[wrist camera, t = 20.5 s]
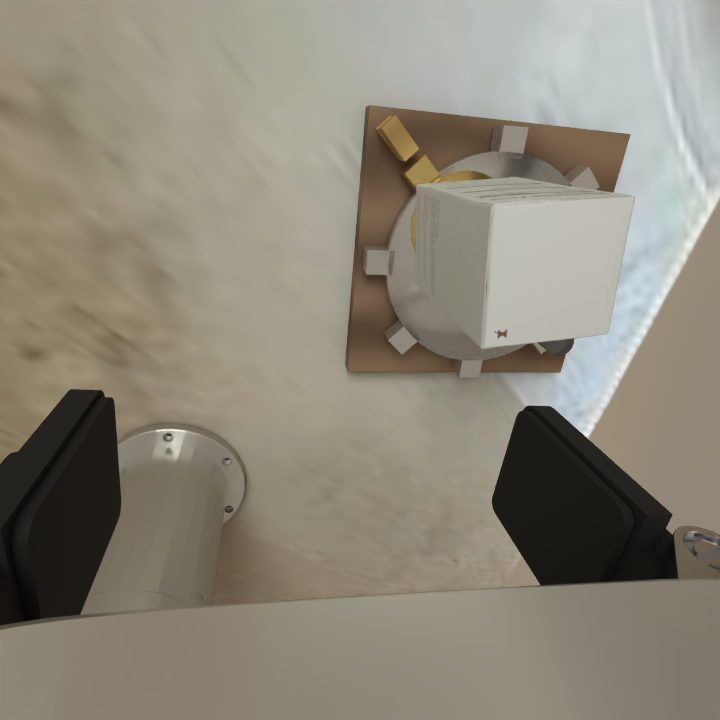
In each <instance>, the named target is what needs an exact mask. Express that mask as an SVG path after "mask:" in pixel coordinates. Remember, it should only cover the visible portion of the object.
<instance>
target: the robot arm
mask: <svg viewBox="0 0 720 720" xmlns="http://www.w3.org/2000/svg"><path fill="white" fill-rule="evenodd" d="M244 491H245V472H244V468H243V465H242V463H241V461H240V459H239V457H238V455H237V454H236V453H235V451H234V450H233V449H232V448H231V447H230V446H229V445H228V444H227V443H226V442H224V441H223V440H222V439H221V438H219V437H217V436H216V435H214V434H212V433H210V432H208V431H205V430H202V429H200V428H197V427H193V426H187V425H181V424H162V425H154V426H149V427H146V428H143V429H139V430H137V431H135V432H133V433H131V434H129V435H127V436H125V437H124V438H122V439H121V440H120V441H119V442H117V433H116V419H115V405H114V400H113V398H110V397H105V396H104V393H103V391H102V390H77V389H71V390H69V391H68V392H67V393H66V395H65V396H64V397H63V398H62V399H61V401H60V402H59V403H58V404H57V405H56V407H55V408H54V409H53V410H52V412H51V413H50V414H49V415H48V416H47V418H46V419H45V420H44V421H43V422H42V424H41V425H40V426H39V427H38V428H37V430H36V431H35V432H34V433H33V434H32V436H31V437H30V438H29V439H28V440H27V442H26V443H25V444H24V445H23V446H22V448H21V449H20V450H19V451H18V452H14V453H11V454H10V455H8V456H7V457H6V458H5V459H4V460H3V462H2V463H1V464H0V720H720V535H719V534H717V533H715V532H713V531H709V530H707V529H703V528H700V527H693V526H682V527H679V528H678V529H676V530H675V531H674V533H673V535H672V534H671V533H670V532H669V531H667V529H666V526H667V525H668V523H669V521H670V518H671V517H672V514H671V513H670V512H669V511H668V510H667V509H666V508H665V507H663V506H662V505H661V504H660V503H659V502H658V501H657V500H656V499H655V498H653V497H652V496H651V495H650V494H649V493H648V492H647V491H646V490H644V489H643V488H642V487H641V486H640V485H639V484H638V483H637V482H636V481H634V480H633V479H632V478H631V477H630V476H629V475H628V474H627V473H625V472H624V471H623V470H622V469H621V468H620V467H619V466H618V465H616V464H615V463H614V462H613V461H612V460H611V459H610V458H608V456H606V455H605V454H604V453H603V452H602V451H601V450H600V449H599V448H597V447H596V446H595V445H594V444H593V443H592V442H591V441H590V440H588V439H587V438H586V437H585V436H584V435H583V434H582V433H581V432H580V431H578V430H577V429H576V428H575V427H574V426H573V425H572V424H571V423H569V422H568V421H567V420H566V419H565V418H564V417H563V416H562V415H560V414H559V413H558V412H557V411H556V410H555V409H554V408H552V407H550V406H527V407H525V409H524V410H523V411H521V412H519V413H518V415H517V417H516V420H515V423H514V427H513V430H512V433H511V437H510V440H509V443H508V447H507V450H506V454H505V457H504V460H503V464H502V467H501V470H500V474H499V477H498V480H497V484H496V487H495V490H494V494H493V497H492V506H493V510H494V512H495V514H496V515H497V517H498V518H499V520H500V522H501V523H502V525H503V526H504V528H505V530H506V531H507V533H508V534H509V536H510V537H511V539H512V541H513V542H514V544H515V545H516V547H517V549H518V550H519V552H520V553H521V555H522V556H523V558H524V560H525V561H526V563H527V564H528V566H529V567H530V569H531V571H532V572H533V574H534V575H535V577H536V579H537V580H538V582H539V583H540V585H539V586H520V587H502V588H484V589H466V590H448V591H430V592H413V593H396V594H379V595H362V596H345V597H329V598H312V599H296V600H280V601H265V602H249V603H233V604H217V605H212V604H213V596H214V589H215V581H216V573H217V566H218V558H219V550H220V543H221V535H222V527H223V524H224V523H226V522H227V521H228V520H229V519H230V518H231V517H232V516H233V515H234V514H235V513H236V511H237V509H238V508H239V506H240V505H241V502H242V499H243V496H244Z"/></svg>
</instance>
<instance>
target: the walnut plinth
mask: <svg viewBox="0 0 720 720" xmlns="http://www.w3.org/2000/svg"><path fill="white" fill-rule="evenodd" d="M496 125H509V126H520V127H529V128H528V133H527V138H526V143H525V148H524V153H523V154H527V155H530V156H533V157H536V158H539V159H540V160H542V161H544V162H546V163H548V164H550V165H551V166H553V167H554V168H555V169H557V170H558V171H559V172H560V173H561V174H562V175H563V176H565V175H566V174H567V173H568V172H569V171H571V170H572V169H573V168H574V167H575V166H586V167H589V168H590V170H591V171H592V173H593V175H594V177H595V179H596V181H597V182H598V184H599V186H600V187H599V188H597V189H596V190H599V191H605V192H612V193H613V192H614V189H615V185H616V182H617V178H618V175H619V172H620V168H621V165H622V161H623V158H624V155H625V151H626V148H627V144H628V141H629V138H630V134H623V133H614V132H605V131H596V130H587V129H578V128H569V127H560V126H551V125H542V124H533V123H524V122H515V121H506V120H497V119H488V118H479V117H470V116H461V115H452V114H443V113H434V112H425V111H416V110H407V109H398V108H389V107H380V106H371V105H370V106H367V107H366V114H365V126H364V138H363V151H362V163H361V176H360V188H359V200H358V213H357V225H356V238H355V250H354V262H353V275H352V287H351V300H350V312H349V324H348V337H347V349H346V362H345V365H346V368H347V371H348V372H454V371H453V365H454V359H452V358H448V357H445V356H442V355H439V354H437V353H435V352H433V351H431V350H429V349H427V348H426V347H424V346H423V345H422V344H420V343H419V342H416V343H415V344H414V345H413V346H412V347H411V348H409V349H408V350H407V351H406V352H405V353H403V354H401V353H400V352H399V351H398V350H397V349H396V348H395V347H394V346H393V345H392V344H391V343H390V342H389V341H388V339H387V338H386V336H385V334H384V332H385V331H386V330H388V329H389V328H390V327H391V326H392V325H393V324H394V323H396V322H397V321H398V320H399V319H398V317H397V315H396V314H395V312H394V310H393V308H392V306H391V303H390V301H389V298H388V296H387V291H386V287H385V282H384V275H369V274H365V272H364V271H363V269H362V267H363V253H364V245H370V246H386V242H387V239H388V235H389V232H390V229H391V227H392V224H393V222H394V219H395V217H396V215H397V214H398V212H399V210H400V208H401V207H402V205H403V203H404V202H405V201H406V199H407V198H408V197H409V195H410V194H411V193H412V191H413V189H412V188H411V187H410V185H409V184H408V183H407V181H406V180H405V179H404V177H403V176H402V175H401V173H400V171H401V170H402V169H403V168H404V167H405V166H406V165H408V164H409V163H410V162H411V161H412V160H413V159H414V158H415V157H416V156H417V155H418V154H424V155H426V156H427V158H428V159H429V160H430V162H431V163H432V165H433V166H434V167H435V169H436V170H437V169H439V168H440V167H442V166H444V165H445V164H447V163H449V162H451V161H454V160H456V159H458V158H460V157H463V156H467V155H470V154H473V153H480V152H486V151H490V147H491V141H492V136H493V130H494V126H496ZM565 355H566V354H565ZM565 355H562V356H554V355H552V354H551V353H549V352H548V351H547V350H546V351H545V352H543V353H542V354H541V353H539V352H538V351H537V350H536V349H534V348H533V347H532V346H531V345H530V343H529V344H527V345H525V346H523V347H522V348H520V349H518V350H516V351H513V352H511V353H509V354H506V355H503V356H500V357H497V358H492V359H486V360H483V361H482V366H481V371H480V372H561V369H562V365H563V362H564V358H565Z"/></svg>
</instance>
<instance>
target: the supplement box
mask: <svg viewBox="0 0 720 720" xmlns="http://www.w3.org/2000/svg"><path fill="white" fill-rule="evenodd" d="M634 200H635V197H634V196H631V195H625V194H619V193H612V192H605V191H599V190H593V189H586V188H579V187H571V186H565V185H559V184H553V183H548V182H542V181H536V180H531V179H525V178H519V177H510V178H497V179H481V180H466V181H452V182H438V183H425V184H417V185H416V284H417V285H418V286H419V287H420V288H421V289H422V290H423V291H424V292H425V293H426V294H427V295H428V296H429V297H430V298H431V299H432V300H433V301H434V302H435V303H436V304H437V305H438V306H439V307H440V308H441V309H442V310H443V311H444V312H445V313H446V314H447V315H448V316H449V317H450V318H451V319H452V320H453V321H454V322H455V323H456V324H457V325H458V326H459V327H460V328H461V329H462V330H463V331H464V332H465V333H466V334H467V335H468V336H469V337H470V338H471V339H472V340H473V341H474V342H475V343H476V344H477V345H478V346H479V347H480V348H481V349H489V348H496V347H504V346H511V345H520V344H528V343H537V342H546V341H555V340H563V339H572V338H580V337H590V336H597V335H604V334H607V333H608V331H609V327H610V321H611V316H612V310H613V305H614V300H615V295H616V290H617V285H618V280H619V275H620V270H621V265H622V260H623V255H624V249H625V244H626V239H627V234H628V230H629V225H630V220H631V214H632V210H633V205H634Z"/></svg>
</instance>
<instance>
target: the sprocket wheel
mask: <svg viewBox="0 0 720 720" xmlns="http://www.w3.org/2000/svg"><path fill="white" fill-rule="evenodd" d="M528 128H529V127H520V126H509V125H496V126H494V130H493V136H492V141H491V147H490V151H486V152H480V153H473V154H470V155H467V156H463V157H460V158H458V159H456V160H454V161H451V162H449V163H447V164H445V165H444V166H442V167H440V168H439V169H437V170H436V169H435V167H434V166H433V165H432V163H431V162H430V160H429V159H428V158H427V156H426V155H424V154H418V155H417V156H416V157H415V158H414V159H413V160H412V161H411V162H410V163H409V164H408V165H406V166H405V167H404V168H403V169H402V170H401V171H400V173H401V175H402V176H403V177H404V179H405V180H406V181H407V183H408V184H409V185H410V187H411V188H412V189H413V191H412V193H411V194H410V195H409V197H408V198H407V199H406V201H405V202H404V203H403V205H402V207H401V208H400V210H399V212H398V214H397V215H396V217H395V219H394V222H393V224H392V227H391V229H390V232H389V235H388V239H387V242H386V246H370V245H364V253H363V267H362V269H363V271H364V272H365V274H369V275H384V282H385V287H386V291H387V296H388V298H389V301H390V303H391V306H392V308H393V310H394V312H395V314H396V315H397V317H398V319H399V320H398V321H397V322H396V323H394V324H393V325H392V326H391V327H390V328H389V329H388V330H386V331H385V332H384V334H385V336H386V338H387V339H388V341H389V342H390V343H391V344H392V345H393V346H394V347H395V348H396V349H397V350H398V351H399V352H400V353H401V354H403V353H405V352H406V351H407V350H408V349H409V348H411V347H412V346H413V345H414V344H415V343H416V342H419V343H420V344H422V345H423V346H424V347H426V348H427V349H429V350H431V351H433V352H435V353H437V354H439V355H442V356H445V357H448V358H452V359H454V365H453V371H454V372H455V373H456V374H457V376H458V377H459V378H479V376H480V371H481V366H482V361H483V360H486V359H492V358H497V357H500V356H503V355H506V354H509V353H511V352H513V351H516V350H518V349H520V348H522V347H523V346H525V345H527V344H520V345H511V346H504V347H496V348H489V349H481V348H480V347H479V346H478V345H477V344H476V343H475V342H474V341H473V340H472V339H471V338H470V337H469V336H468V335H467V334H466V333H465V332H464V331H463V330H462V329H461V328H460V327H459V326H458V325H457V324H456V323H455V322H454V321H453V320H452V319H451V318H450V317H449V316H448V315H447V314H446V313H445V312H444V311H443V310H442V309H441V308H440V307H439V306H438V305H437V304H436V303H435V302H434V301H433V300H432V299H431V298H430V297H429V296H428V295H427V294H426V293H425V292H424V291H423V290H422V289H421V288H420V287H419V286H418V285H417V284H416V185H417V184H425V183H438V182H452V181H466V180H481V179H497V178H510V177H519V178H525V179H531V180H536V181H542V182H548V183H553V184H559V185H565V186H571V187H579V188H586V189H593V190H596V189H597V188H599V187H600V186H599V184H598V182H597V181H596V179H595V177H594V175H593V173H592V171H591V170H590V168H589V167H586V166H575V167H574V168H573V169H572V170H571V171H569V172H568V173H567V174H566V175H565V176H563V175H562V174H561V173H560V172H559V171H558V170H557V169H555V168H554V167H553V166H551V165H550V164H548V163H546V162H544V161H542V160H540V159H539V158H536V157H533V156H530V155H527V154H523V153H524V148H525V143H526V138H527V133H528ZM573 343H574V338H572V339H563V340H555V341H546V342H537V343H530V345H531V346H532V347H533V348H534V349H536V350H537V351H538V352H539V353H541V354H542V353H543V352H545V351H546V350H547V351H548V352H549V353H551V354H552V355H554V356H562V355H565V354H566V353H568V352H569V351H570V350H571V348H572V346H573ZM528 344H529V343H528Z"/></svg>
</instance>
